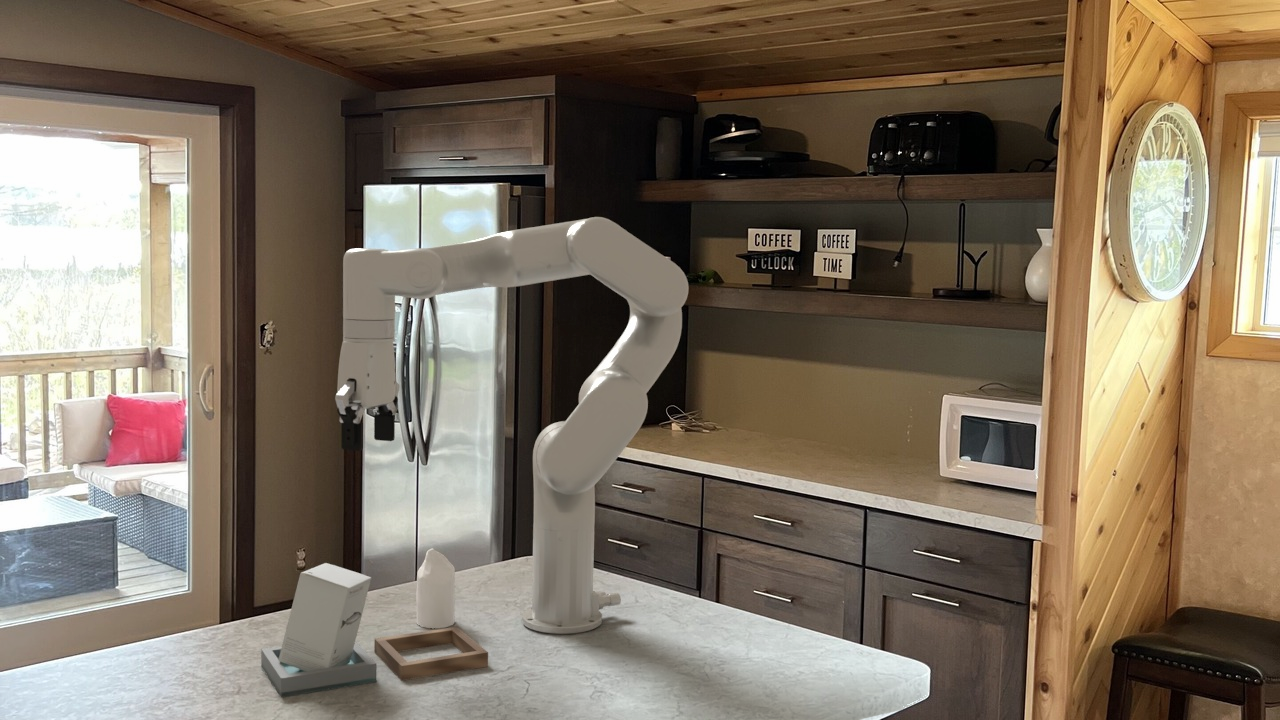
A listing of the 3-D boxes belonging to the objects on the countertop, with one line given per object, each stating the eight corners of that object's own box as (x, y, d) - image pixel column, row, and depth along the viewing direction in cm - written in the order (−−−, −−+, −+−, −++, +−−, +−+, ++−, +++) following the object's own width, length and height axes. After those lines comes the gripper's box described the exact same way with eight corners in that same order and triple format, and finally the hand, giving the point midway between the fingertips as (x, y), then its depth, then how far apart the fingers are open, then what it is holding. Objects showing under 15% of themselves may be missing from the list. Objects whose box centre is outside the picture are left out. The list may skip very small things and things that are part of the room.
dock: (351, 653, 162) (351, 636, 162) (376, 681, 151) (376, 663, 151) (261, 666, 156) (261, 648, 156) (281, 697, 145) (281, 678, 145)
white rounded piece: (460, 544, 178) (448, 553, 172) (459, 619, 179) (447, 630, 173) (423, 542, 179) (410, 550, 173) (422, 616, 180) (410, 627, 174)
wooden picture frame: (456, 639, 169) (456, 626, 169) (487, 666, 158) (488, 652, 158) (374, 652, 163) (374, 638, 163) (401, 680, 152) (401, 666, 152)
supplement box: (325, 679, 149) (348, 588, 148) (276, 661, 150) (298, 571, 150) (351, 664, 156) (373, 576, 155) (303, 647, 158) (325, 560, 157)
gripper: (374, 327, 179) (374, 435, 180) (315, 333, 162) (315, 452, 163) (418, 329, 177) (417, 438, 178) (362, 335, 160) (362, 455, 162)
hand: (368, 444), depth 171 cm, fingers open, 9 cm apart
